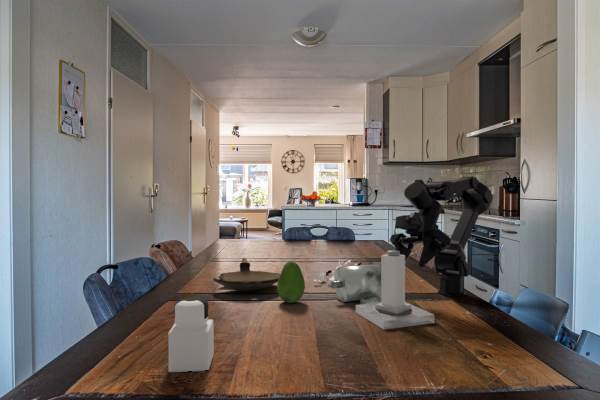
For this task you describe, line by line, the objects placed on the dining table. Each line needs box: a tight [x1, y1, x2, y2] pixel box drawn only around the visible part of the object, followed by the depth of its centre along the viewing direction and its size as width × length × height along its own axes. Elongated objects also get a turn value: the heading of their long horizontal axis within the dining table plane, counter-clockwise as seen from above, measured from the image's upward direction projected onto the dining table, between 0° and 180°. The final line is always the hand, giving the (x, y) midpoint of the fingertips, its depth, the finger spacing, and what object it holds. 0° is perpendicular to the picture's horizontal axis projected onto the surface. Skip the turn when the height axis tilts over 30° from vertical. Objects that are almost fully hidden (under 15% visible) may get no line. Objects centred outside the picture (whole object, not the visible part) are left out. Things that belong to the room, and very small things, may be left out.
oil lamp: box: [212, 257, 281, 292], centre depth 133 cm, size 22×30×8 cm
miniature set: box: [312, 258, 363, 287], centre depth 149 cm, size 6×35×12 cm
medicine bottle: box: [167, 296, 215, 373], centre depth 74 cm, size 7×7×12 cm
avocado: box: [276, 260, 306, 304], centre depth 115 cm, size 8×8×12 cm
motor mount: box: [330, 263, 435, 331], centre depth 108 cm, size 16×30×10 cm, turn 19°
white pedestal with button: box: [375, 249, 412, 314], centre depth 101 cm, size 6×6×14 cm
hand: (408, 267), depth 108 cm, fingers open, 9 cm apart
